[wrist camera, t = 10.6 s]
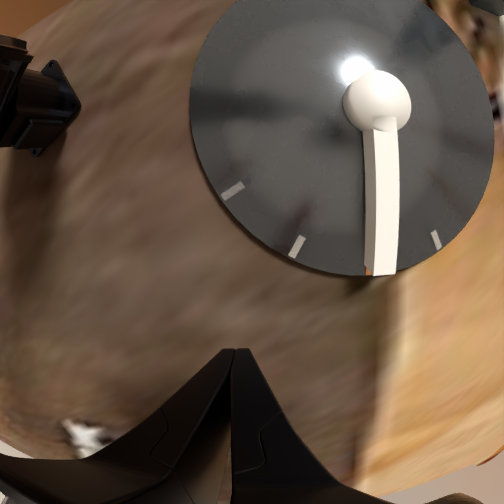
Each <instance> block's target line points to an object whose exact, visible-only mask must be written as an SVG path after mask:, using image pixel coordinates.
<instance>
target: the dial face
mask: <svg viewBox="0 0 504 504" xmlns="http://www.w3.org/2000/svg"><path fill="white" fill-rule="evenodd" d="M371 70H380V71H384V72H387V73H390V74H391V75H393V76H395V77H396V78H397V79H398V80H399V81H401V83H402V84H403V85H404V86H405V88H406V90H407V91H408V94H409V96H410V100H411V114H410V117H409V119H408V121H407V123H406V124H405V125H404V126H403V127H402V128H400V129H399V130H397V135H398V151H399V231H398V248H397V261H396V271H397V270H401V269H404V268H408V267H410V266H412V265H415V264H417V263H419V262H421V261H423V260H425V259H427V258H429V257H430V256H432V255H433V254H435V253H437V252H438V251H440V250H441V249H442V248H443V247H445V246H446V245H447V244H448V243H449V242H451V241H452V240H453V239H454V238H455V237H456V236H457V235H458V233H459V232H460V231H461V230H462V229H463V228H464V227H465V226H466V224H467V223H468V221H469V220H470V218H471V217H472V215H473V214H474V212H475V211H476V209H477V207H478V205H479V203H480V201H481V199H482V197H483V195H484V192H485V189H486V186H487V183H488V181H489V177H490V172H491V168H492V163H493V154H494V123H493V115H492V109H491V104H490V101H489V97H488V93H487V90H486V87H485V84H484V82H483V79H482V76H481V74H480V72H479V70H478V68H477V66H476V64H475V62H474V60H473V58H472V56H471V55H470V53H469V52H468V50H467V49H466V47H465V46H464V44H463V43H462V41H461V40H460V39H459V37H458V36H457V35H456V34H455V33H454V31H453V30H452V29H451V28H450V27H449V26H448V24H447V23H446V22H444V21H443V20H442V19H441V18H440V17H439V16H438V15H437V14H436V13H435V12H434V11H433V10H431V9H430V8H429V7H427V6H426V5H425V4H423V3H422V2H421V1H419V0H238V1H237V2H235V3H234V4H233V5H232V6H231V7H230V8H229V9H228V10H227V11H226V12H225V13H224V14H223V15H222V16H221V17H220V19H219V20H218V21H217V23H216V24H215V25H214V27H213V28H212V30H211V31H210V32H209V34H208V36H207V38H206V40H205V42H204V44H203V46H202V48H201V50H200V52H199V55H198V58H197V61H196V64H195V67H194V70H193V76H192V82H191V88H190V120H191V127H192V134H193V139H194V142H195V146H196V149H197V153H198V156H199V159H200V161H201V164H202V166H203V168H204V170H205V173H206V175H207V177H208V179H209V181H210V183H211V184H212V186H213V188H214V189H215V191H216V193H217V194H218V196H219V198H220V199H221V201H222V202H223V203H224V204H225V206H226V207H227V208H228V209H229V211H230V212H231V213H232V214H233V216H234V217H235V218H236V219H237V220H238V221H239V222H240V223H241V224H242V225H243V226H244V227H245V228H246V229H247V230H248V231H249V232H250V233H251V234H253V235H254V236H255V237H257V238H258V239H259V240H261V241H262V242H263V243H265V244H266V245H267V246H269V247H270V248H272V249H273V250H275V251H277V252H279V253H280V254H282V255H284V256H286V257H287V258H289V259H291V260H294V261H296V262H298V263H301V264H303V265H306V266H308V267H311V268H314V269H318V270H322V271H326V272H329V273H336V274H343V275H372V273H371V272H370V271H369V270H368V269H367V267H366V266H365V265H364V257H365V223H366V195H365V161H364V143H363V131H361V130H359V129H358V128H356V127H355V126H354V125H353V124H352V123H351V122H350V121H349V119H348V118H347V116H346V114H345V111H344V107H343V96H344V93H345V90H346V88H347V87H348V86H349V85H350V84H351V83H352V82H353V81H354V80H355V79H357V78H358V77H359V76H360V75H361V74H363V73H365V72H367V71H371Z"/></svg>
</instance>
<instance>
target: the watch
mask: <svg viewBox="0 0 504 504" xmlns="http://www.w3.org/2000/svg"><path fill="white" fill-rule="evenodd" d="M469 1H470V3H471V5H473V6H476V7H478V8H481V9H483V10H486V11H488V12H490V13H493V14H495V15H497V16H502V15H504V0H469Z"/></svg>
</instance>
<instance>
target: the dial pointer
mask: <svg viewBox="0 0 504 504" xmlns="http://www.w3.org/2000/svg"><path fill="white" fill-rule="evenodd" d="M343 107H344V111H345V114H346V116H347V118H348V119H349V121H350V122H351V123H352V124H353V125H354V126H355V127H356V128H358V129H359V130H361V131H363V143H364V161H365V195H366V223H365V257H364V265H365V266H366V267H367V269H368V270H369V271H370V272H371V273H372V275H373V276H378V275H389V274H395V272H396V261H397V248H398V231H399V151H398V135H397V130H399V129H400V128H402V127H403V126H404V125H405V124H406V123H407V121H408V119H409V117H410V114H411V100H410V96H409V94H408V91H407V90H406V88H405V86H404V85H403V84H402V83H401V81H399V80H398V79H397V78H396V77H395V76H393V75H391V74H390V73H387V72H384V71H380V70H371V71H367V72H365V73H363V74H361V75H360V76H359V77H358V78H357V79H355V80H354V81H353V82H352V83H351V84H350V85H349V86H348V87H347V88H346V90H345V93H344V96H343Z"/></svg>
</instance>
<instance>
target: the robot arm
mask: <svg viewBox="0 0 504 504" xmlns="http://www.w3.org/2000/svg"><path fill="white" fill-rule="evenodd" d="M26 44H27V42H26V41H24V40H21V39H17V38H14V37H11V36H7V35H3V34H0V148H1V147H13V149H29V151H30V153H31V155H32V157H34V158H35V157H39V156H40V155H41V153H42V152H43V151H44V149H45V148H47V147H48V146H49V145H50V143H51V142H52V141H53V140H54V138H55V137H56V136H57V135H58V134H59V133H60V131H61V130H62V129H63V128H64V126H65V124H66V123H67V122H68V121H69V120H70V119H71V118H72V116H73V115H74V114H75V113H76V112H77V111H78V110H79V108H80V106H81V103H80V101H79V99H78V97H77V96H76V94H75V92H74V90H73V89H72V87H71V85H70V83H69V82H68V80H67V78H66V76H65V75H64V73H63V71H62V69H61V67H60V66H59V64H58V62H57V61H56V60H51V61H50V62H49V63H48V64H47V65H46V66H45V67H44V68H43V70H42V71H41V72H38V71H34V70H30V69H26V68H27V66H28V64H29V63H30V62H31V61H32V59H33V57H34V56H32V55H30V54H28V51H27V50H26ZM52 64H53V66H52ZM74 104H76V105H75V107H74ZM230 442H231V464H232V495H231V501H230V504H394V503H391V502H388V501H385V500H382V499H380V498H377V497H374V496H371V495H369V494H366V493H363V492H361V491H358V490H356V489H353V488H351V487H348V486H346V485H345V484H343V483H341V482H340V481H339V480H337V479H336V478H335V477H334V476H333V475H332V474H331V473H330V472H329V471H328V470H327V469H326V468H325V466H324V465H323V464H322V463H321V462H320V461H319V460H318V459H317V457H316V456H315V455H314V454H313V453H312V452H311V451H310V449H309V448H308V447H307V446H306V445H305V443H304V442H303V441H302V440H301V438H300V437H299V436H298V434H297V433H296V432H295V430H294V429H293V427H292V425H291V424H290V422H289V421H288V419H287V417H286V415H285V414H284V412H283V410H282V408H281V407H280V405H279V403H278V401H277V399H276V398H275V396H274V394H273V392H272V390H271V388H270V387H269V385H268V383H267V381H266V379H265V377H264V375H263V374H262V372H261V370H260V368H259V366H258V364H257V362H256V360H255V359H254V357H253V355H252V353H251V351H250V349H248V348H238V349H236V350H235V349H234V348H225V349H222V350H221V351H220V352H219V353H217V354H216V355H215V356H214V357H213V358H212V359H211V360H210V361H209V362H208V363H207V364H206V365H205V366H204V367H203V368H202V369H201V370H200V371H198V372H197V373H196V374H195V375H194V376H193V377H192V378H191V379H190V380H189V381H188V382H187V383H186V384H184V385H183V386H182V387H181V388H180V389H179V390H178V391H177V392H176V393H175V394H173V395H172V396H171V397H170V398H169V399H168V400H167V401H166V402H165V403H163V404H162V405H161V406H160V408H158V409H157V410H155V411H154V412H153V413H152V414H151V415H150V416H148V417H147V418H146V419H145V420H144V421H142V422H141V423H140V424H139V425H137V426H136V427H134V428H133V429H132V430H130V431H129V432H127V433H126V434H124V435H123V436H121V437H120V438H118V439H117V440H115V441H114V442H112V443H111V444H109V445H108V446H106V447H104V448H103V449H101V450H100V451H98V452H96V453H95V454H93V455H91V456H88V457H85V458H82V459H75V460H50V459H30V458H18V457H12V456H7V455H4V454H1V453H0V491H1V492H2V493H3V494H4V495H5V498H4V500H3V502H2V503H1V504H217V502H218V498H219V493H220V489H221V484H222V479H223V475H224V470H225V466H226V461H227V456H228V451H229V447H230ZM425 504H483V503H482V502H480V501H479V500H477V499H475V498H473V497H470V496H468V495H465V494H462V493H455V494H451V495H447V496H445V497H442V498H439V499H437V500H434V501H431V502H429V503H425Z"/></svg>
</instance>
